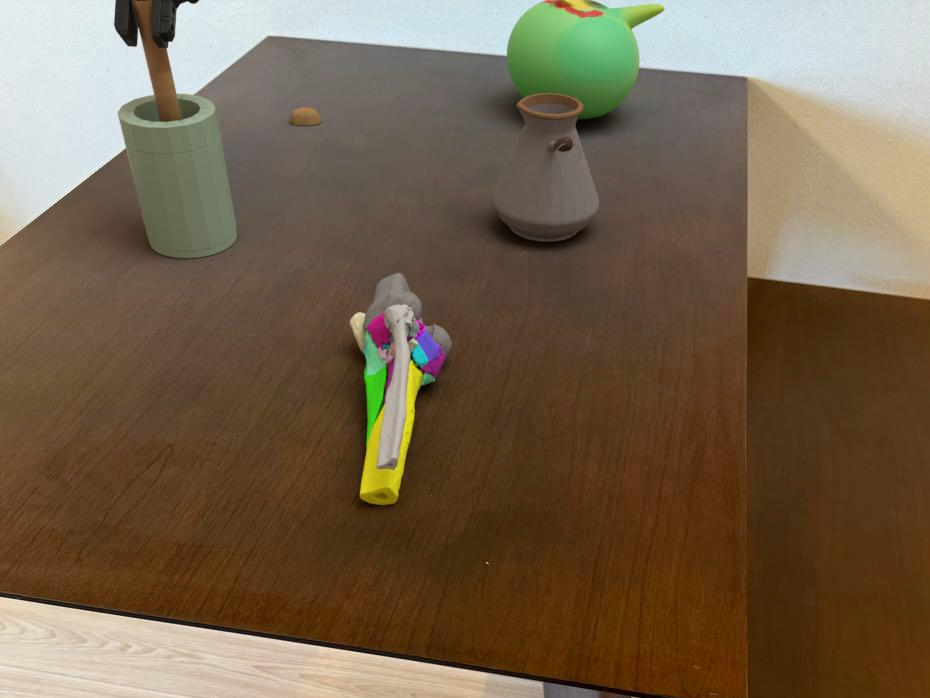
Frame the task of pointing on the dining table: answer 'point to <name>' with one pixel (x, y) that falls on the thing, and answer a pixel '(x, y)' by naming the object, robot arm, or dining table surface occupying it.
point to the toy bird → (578, 52)
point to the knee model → (394, 380)
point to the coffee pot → (547, 173)
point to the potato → (305, 116)
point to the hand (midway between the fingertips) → (144, 42)
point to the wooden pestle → (157, 65)
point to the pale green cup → (180, 176)
